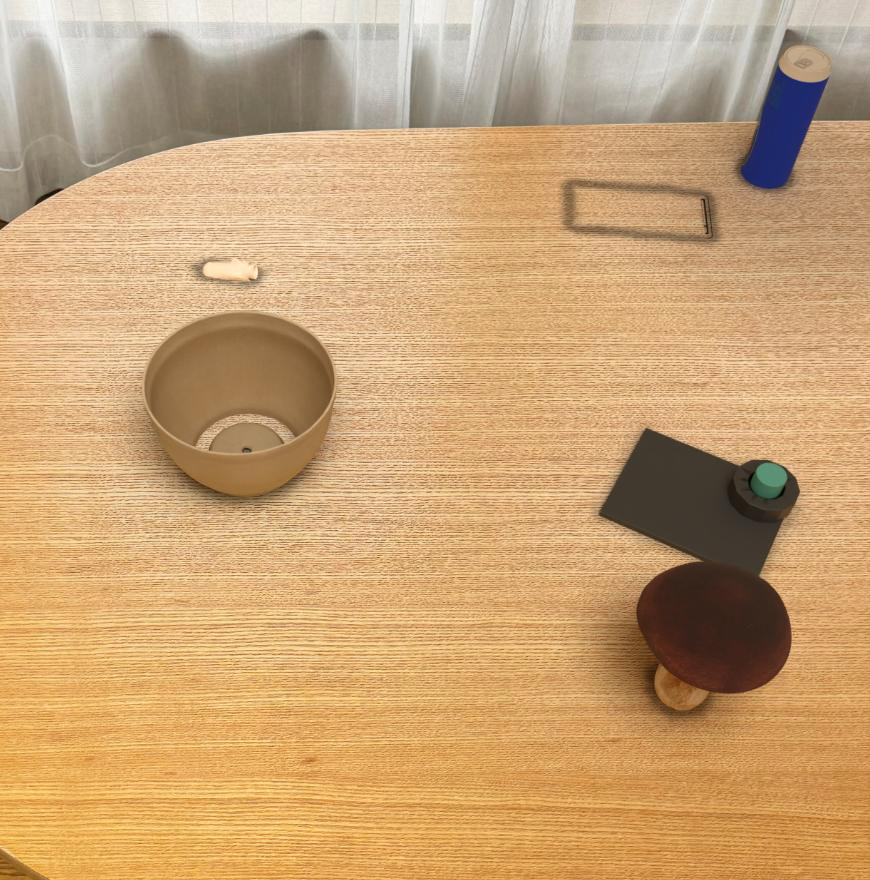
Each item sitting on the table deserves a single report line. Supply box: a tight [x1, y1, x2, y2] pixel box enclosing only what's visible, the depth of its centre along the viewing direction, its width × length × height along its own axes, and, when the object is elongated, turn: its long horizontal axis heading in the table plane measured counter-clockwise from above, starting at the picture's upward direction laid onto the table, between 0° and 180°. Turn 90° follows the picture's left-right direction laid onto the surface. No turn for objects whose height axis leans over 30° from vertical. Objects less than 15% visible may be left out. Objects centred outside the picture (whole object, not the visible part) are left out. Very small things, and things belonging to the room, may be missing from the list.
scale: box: [598, 427, 801, 577], centre depth 102 cm, size 14×11×4 cm
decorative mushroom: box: [635, 560, 793, 711], centre depth 86 cm, size 11×11×15 cm
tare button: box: [750, 463, 787, 499], centre depth 100 cm, size 3×3×2 cm
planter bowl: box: [141, 309, 338, 498], centre depth 101 cm, size 16×16×11 cm
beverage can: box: [740, 44, 833, 190], centre depth 123 cm, size 5×5×15 cm
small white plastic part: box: [202, 257, 259, 282], centre depth 118 cm, size 4×6×3 cm, turn 54°
